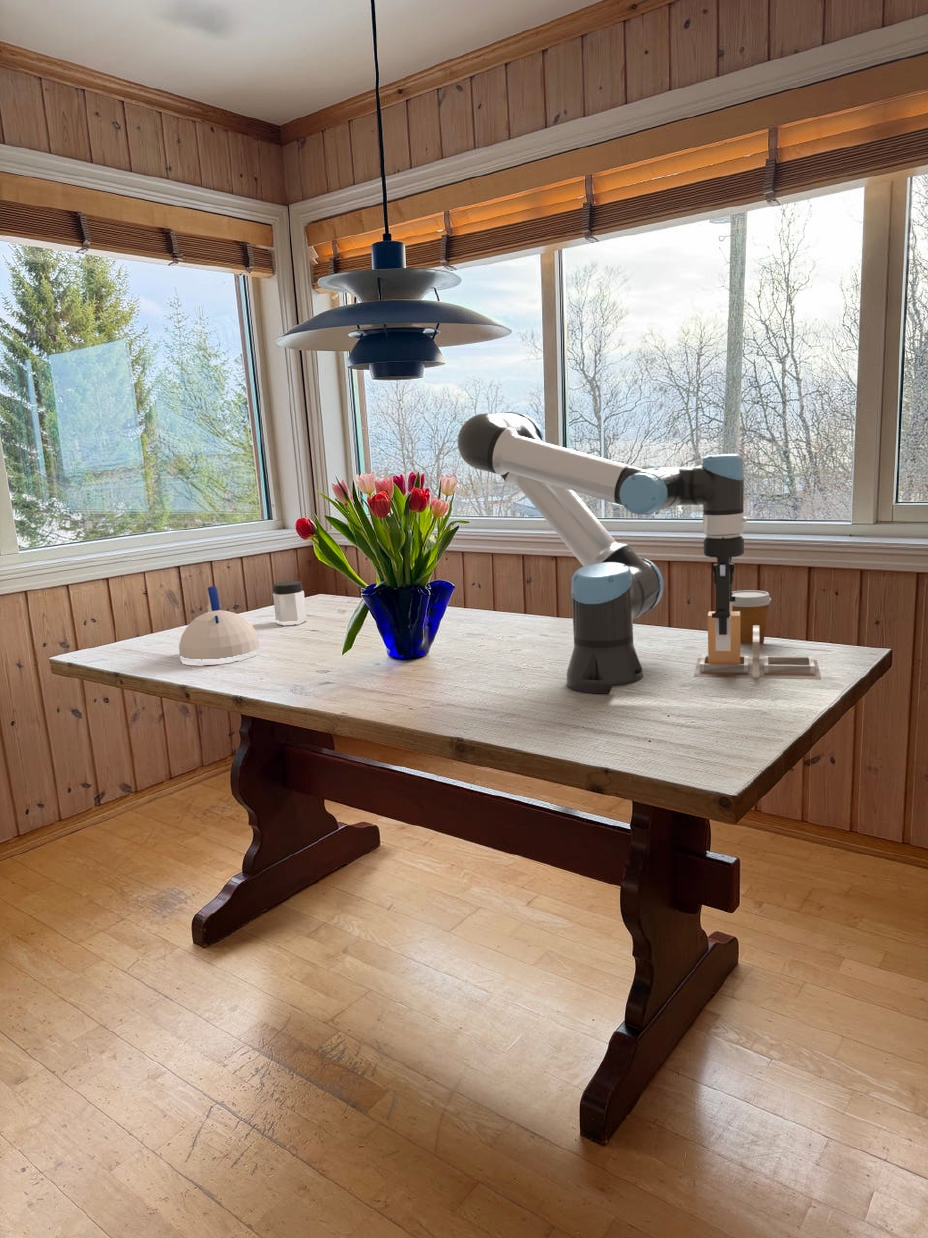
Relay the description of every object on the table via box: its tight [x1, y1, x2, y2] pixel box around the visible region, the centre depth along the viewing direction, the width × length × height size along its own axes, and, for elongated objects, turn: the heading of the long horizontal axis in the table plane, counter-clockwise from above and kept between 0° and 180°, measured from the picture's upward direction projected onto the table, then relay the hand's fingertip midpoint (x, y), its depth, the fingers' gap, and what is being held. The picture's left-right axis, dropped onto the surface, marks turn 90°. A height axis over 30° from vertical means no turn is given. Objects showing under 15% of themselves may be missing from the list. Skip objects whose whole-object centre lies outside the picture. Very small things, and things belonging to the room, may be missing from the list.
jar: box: [272, 580, 308, 622], centre depth 254 cm, size 9×8×12 cm
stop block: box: [707, 610, 741, 664], centre depth 172 cm, size 4×6×11 cm, turn 72°
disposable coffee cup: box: [730, 589, 772, 645], centre depth 193 cm, size 10×10×12 cm
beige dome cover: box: [178, 585, 261, 660], centre depth 219 cm, size 20×21×18 cm
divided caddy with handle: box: [693, 625, 822, 680], centre depth 171 cm, size 14×23×8 cm, turn 72°
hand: (724, 642), depth 172 cm, fingers open, 13 cm apart
